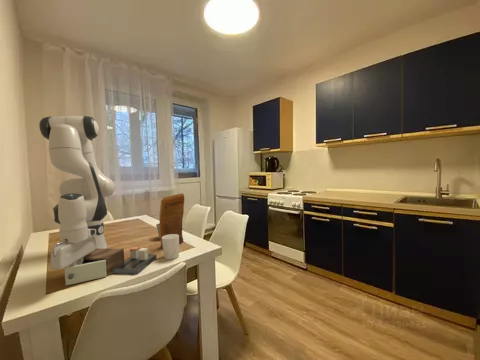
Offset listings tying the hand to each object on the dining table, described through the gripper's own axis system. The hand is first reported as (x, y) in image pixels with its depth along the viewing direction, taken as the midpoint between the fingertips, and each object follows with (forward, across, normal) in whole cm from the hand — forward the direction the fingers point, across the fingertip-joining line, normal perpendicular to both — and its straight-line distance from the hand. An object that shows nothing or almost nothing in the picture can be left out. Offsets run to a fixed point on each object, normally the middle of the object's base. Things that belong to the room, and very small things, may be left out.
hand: (77, 270), depth 88 cm
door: (+3, -2, -5) cm, 6 cm away
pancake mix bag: (+4, +38, -27) cm, 46 cm away
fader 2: (+1, +13, -20) cm, 24 cm away
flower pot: (+4, +51, -17) cm, 54 cm away
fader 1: (+1, +15, -16) cm, 22 cm away
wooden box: (+4, +9, -3) cm, 10 cm away
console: (+4, +12, -18) cm, 21 cm away
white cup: (+4, +20, -31) cm, 37 cm away
